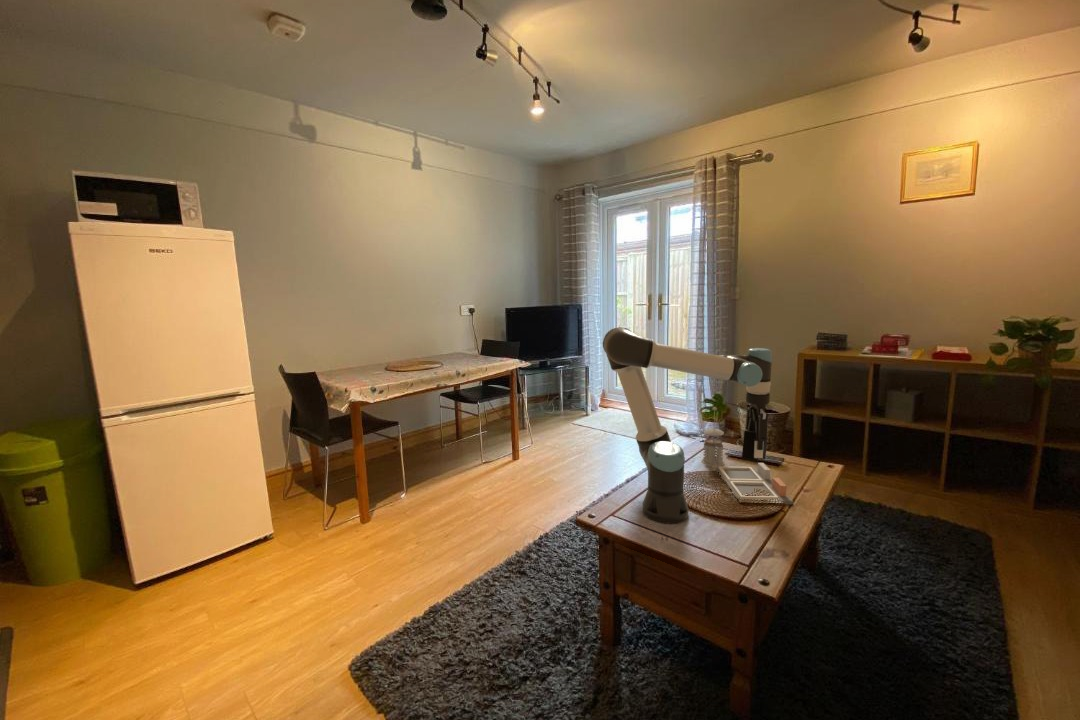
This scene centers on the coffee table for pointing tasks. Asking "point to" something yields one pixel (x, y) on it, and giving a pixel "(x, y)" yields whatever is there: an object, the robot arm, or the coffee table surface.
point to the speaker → (751, 446)
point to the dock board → (754, 482)
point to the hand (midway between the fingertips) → (754, 454)
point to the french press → (713, 447)
